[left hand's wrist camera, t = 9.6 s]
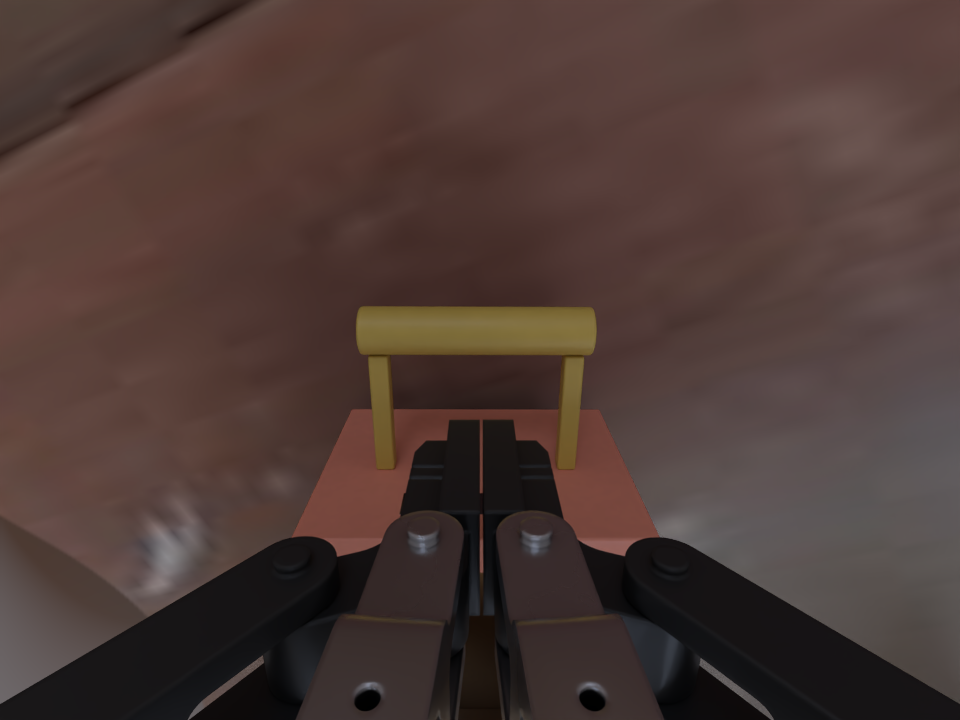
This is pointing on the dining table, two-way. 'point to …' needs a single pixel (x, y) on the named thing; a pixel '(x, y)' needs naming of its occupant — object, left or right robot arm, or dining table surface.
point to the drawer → (400, 432)
